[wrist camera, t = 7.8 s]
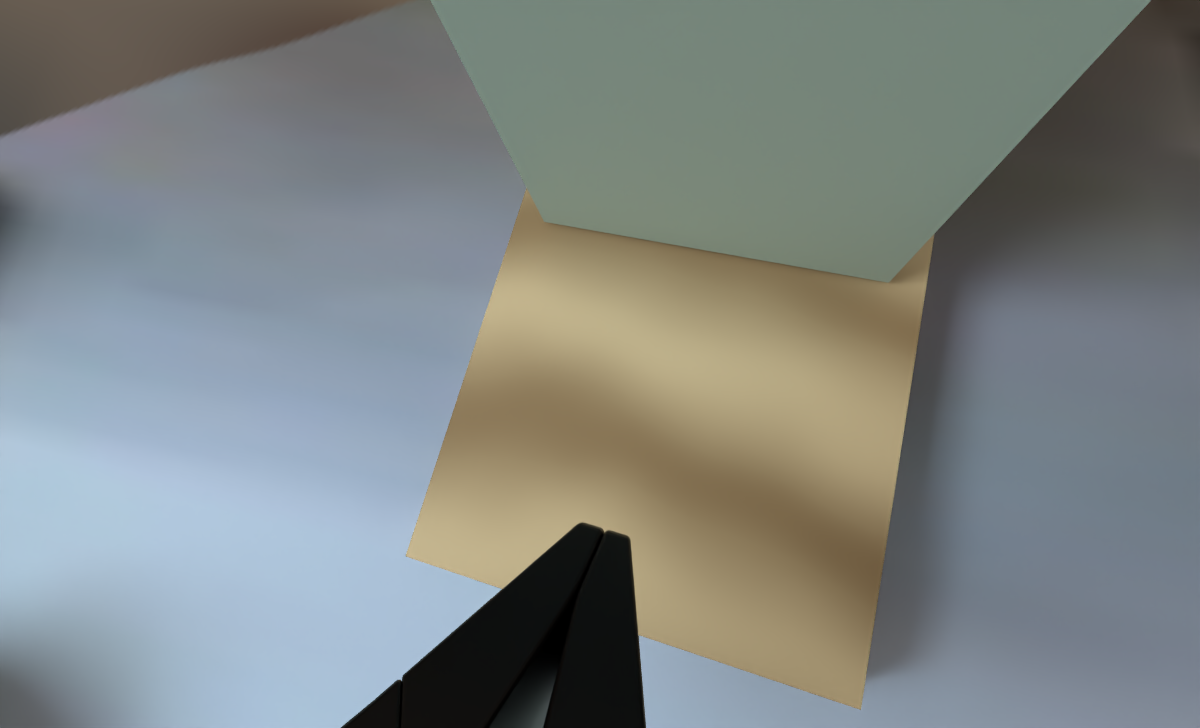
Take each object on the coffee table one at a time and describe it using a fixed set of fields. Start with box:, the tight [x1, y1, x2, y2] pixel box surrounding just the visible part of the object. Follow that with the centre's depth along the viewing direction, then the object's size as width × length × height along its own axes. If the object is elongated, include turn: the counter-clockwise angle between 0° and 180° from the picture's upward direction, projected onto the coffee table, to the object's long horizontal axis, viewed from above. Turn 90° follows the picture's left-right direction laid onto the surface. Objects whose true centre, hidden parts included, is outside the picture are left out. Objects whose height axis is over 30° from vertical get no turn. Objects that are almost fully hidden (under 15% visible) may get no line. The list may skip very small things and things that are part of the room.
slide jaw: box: [431, 0, 1151, 283], centre depth 12 cm, size 3×10×9 cm, turn 74°
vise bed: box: [406, 188, 934, 710], centre depth 16 cm, size 20×12×2 cm, turn 165°
